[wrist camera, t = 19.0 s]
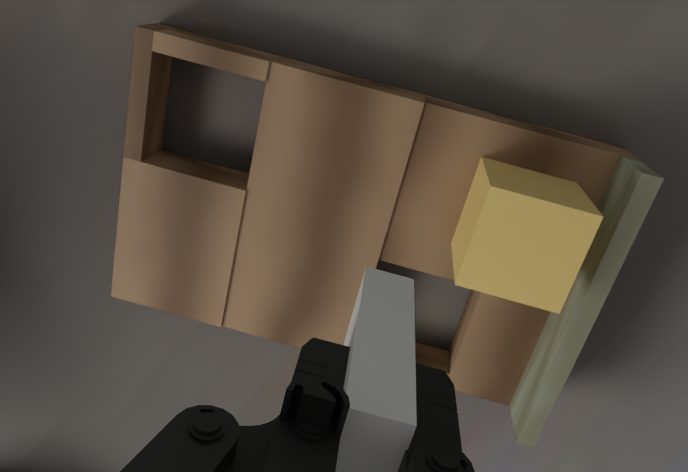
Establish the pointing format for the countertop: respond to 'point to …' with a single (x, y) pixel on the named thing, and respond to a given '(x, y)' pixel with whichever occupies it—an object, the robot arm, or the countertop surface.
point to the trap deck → (354, 215)
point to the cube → (523, 235)
